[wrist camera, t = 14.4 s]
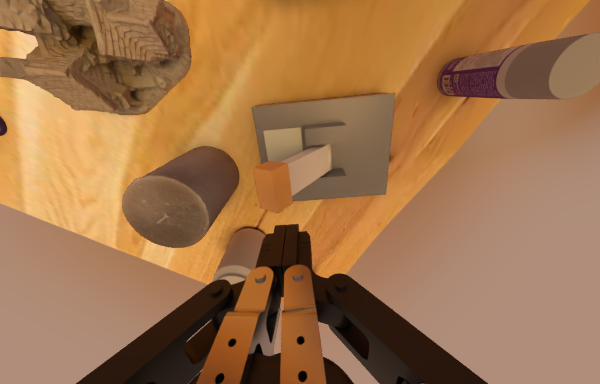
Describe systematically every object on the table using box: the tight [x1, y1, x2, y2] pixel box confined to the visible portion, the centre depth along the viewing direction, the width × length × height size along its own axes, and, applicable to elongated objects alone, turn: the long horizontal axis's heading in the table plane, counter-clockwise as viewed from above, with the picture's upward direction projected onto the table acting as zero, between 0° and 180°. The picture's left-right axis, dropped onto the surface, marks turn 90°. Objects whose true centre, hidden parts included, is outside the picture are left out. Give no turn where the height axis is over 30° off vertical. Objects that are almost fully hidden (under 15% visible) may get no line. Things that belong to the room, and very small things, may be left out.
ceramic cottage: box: [0, 0, 192, 115], centre depth 23 cm, size 16×16×15 cm
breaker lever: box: [253, 144, 332, 214], centre depth 25 cm, size 4×2×12 cm
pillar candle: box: [122, 147, 239, 248], centre depth 30 cm, size 10×10×15 cm
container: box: [438, 33, 600, 99], centre depth 23 cm, size 5×5×15 cm
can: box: [213, 228, 265, 285], centre depth 37 cm, size 8×8×12 cm
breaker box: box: [252, 93, 396, 201], centre depth 30 cm, size 14×18×8 cm
